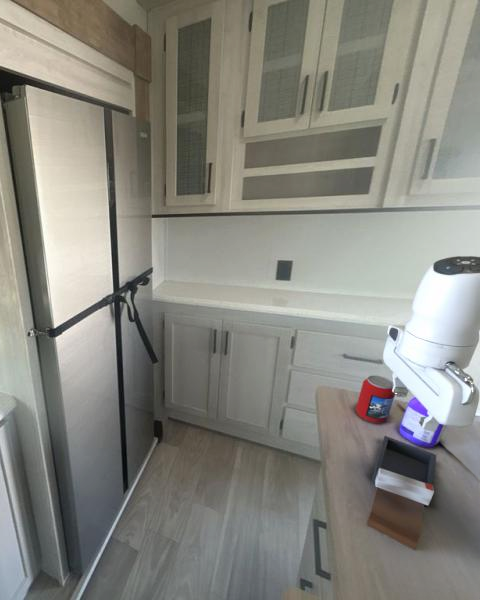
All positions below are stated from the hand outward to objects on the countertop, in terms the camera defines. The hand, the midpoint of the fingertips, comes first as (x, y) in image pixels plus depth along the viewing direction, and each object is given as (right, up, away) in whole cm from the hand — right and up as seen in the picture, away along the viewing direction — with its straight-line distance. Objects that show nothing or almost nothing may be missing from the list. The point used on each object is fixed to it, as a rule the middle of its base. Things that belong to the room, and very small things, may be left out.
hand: (411, 410), depth 63 cm
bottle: (+23, -15, +21) cm, 34 cm away
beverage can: (+18, -12, +29) cm, 36 cm away
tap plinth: (+1, -24, +5) cm, 24 cm away
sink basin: (+11, -19, +13) cm, 25 cm away
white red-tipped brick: (+3, -19, +5) cm, 20 cm away
